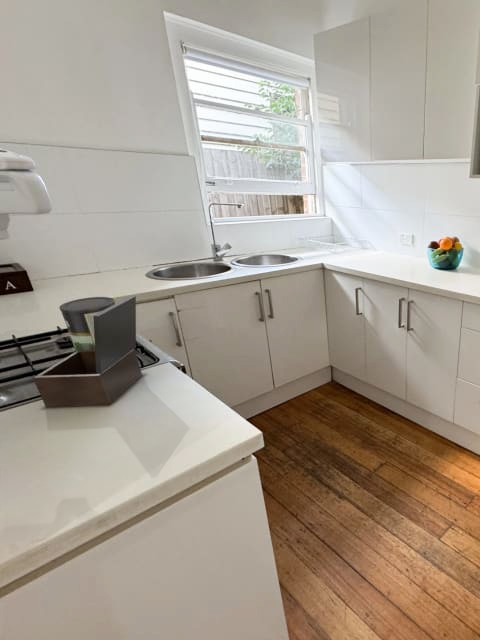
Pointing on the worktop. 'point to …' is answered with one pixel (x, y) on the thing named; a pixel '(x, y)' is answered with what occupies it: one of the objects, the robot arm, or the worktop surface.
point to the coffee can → (83, 319)
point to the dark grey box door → (114, 333)
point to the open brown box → (86, 380)
